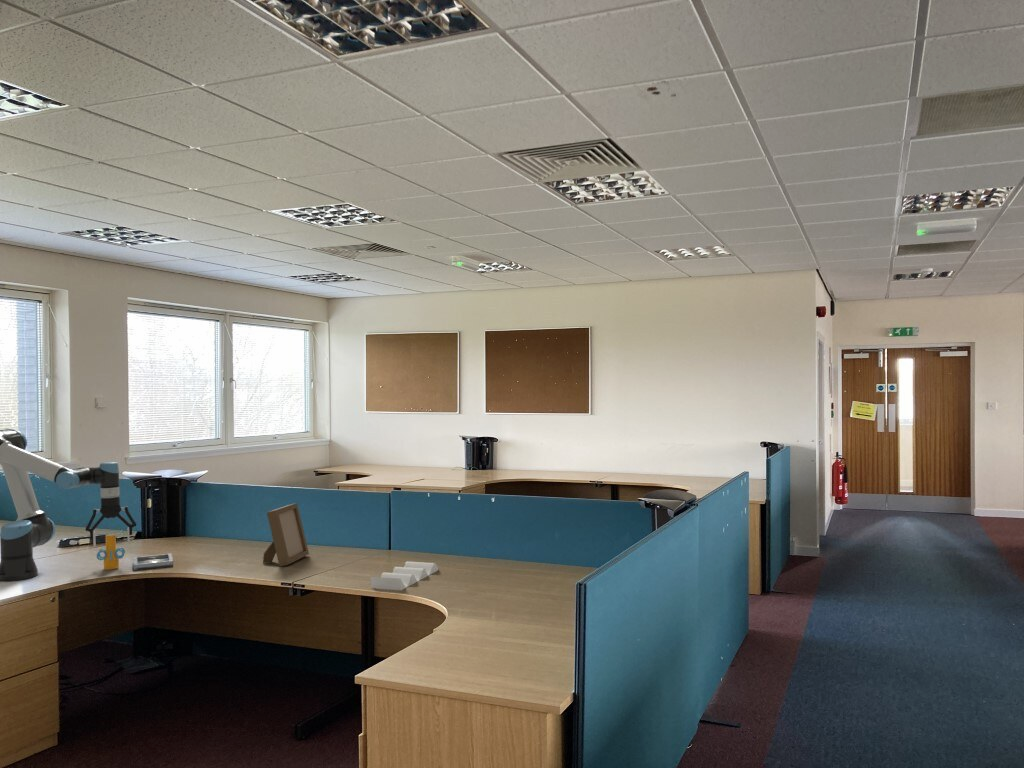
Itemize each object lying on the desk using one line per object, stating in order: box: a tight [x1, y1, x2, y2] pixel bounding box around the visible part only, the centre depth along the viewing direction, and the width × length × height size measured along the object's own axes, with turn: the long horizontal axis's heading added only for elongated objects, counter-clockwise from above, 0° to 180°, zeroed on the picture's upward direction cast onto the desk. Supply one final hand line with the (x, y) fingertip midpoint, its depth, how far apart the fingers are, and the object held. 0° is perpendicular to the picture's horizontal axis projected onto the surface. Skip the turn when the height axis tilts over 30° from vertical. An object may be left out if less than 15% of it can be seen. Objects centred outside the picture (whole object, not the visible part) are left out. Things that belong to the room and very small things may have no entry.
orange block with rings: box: [96, 533, 125, 571], centre depth 350 cm, size 12×10×15 cm
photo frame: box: [262, 502, 310, 567], centre depth 359 cm, size 15×22×25 cm
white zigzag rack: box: [370, 561, 439, 591], centre depth 322 cm, size 13×35×5 cm, turn 160°
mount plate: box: [133, 553, 174, 571], centre depth 357 cm, size 16×18×2 cm
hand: (111, 544), depth 350 cm, fingers open, 13 cm apart
